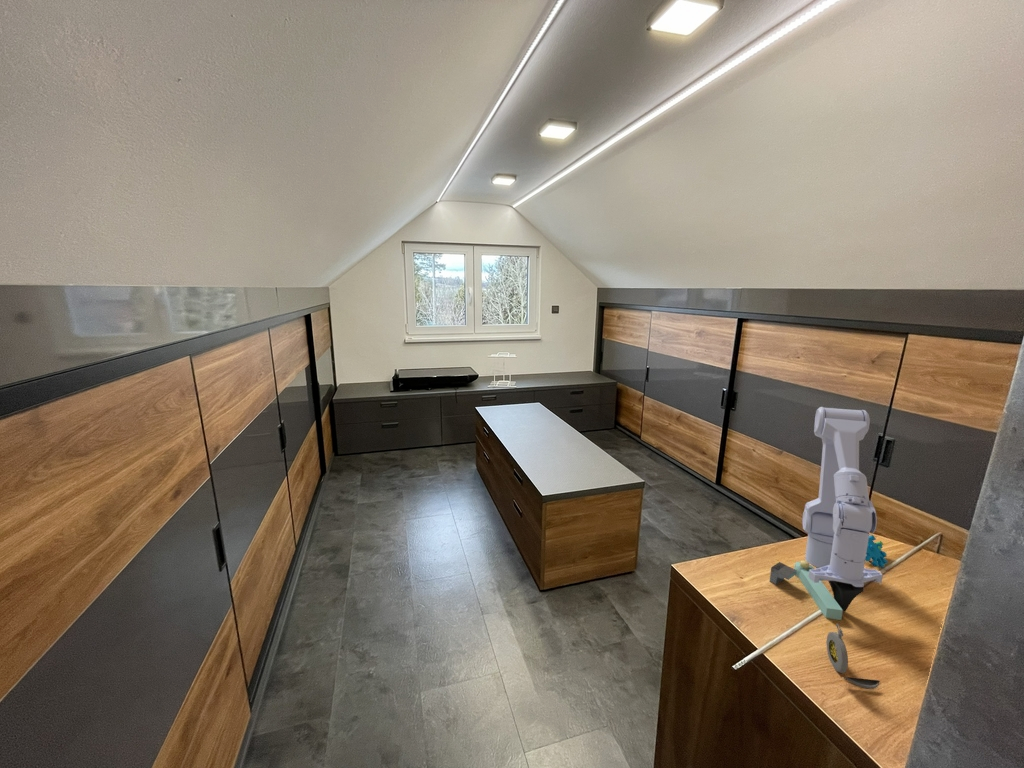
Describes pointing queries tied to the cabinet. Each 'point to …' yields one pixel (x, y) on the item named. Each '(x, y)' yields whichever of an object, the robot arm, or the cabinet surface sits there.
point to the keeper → (781, 573)
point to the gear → (875, 553)
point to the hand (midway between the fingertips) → (840, 608)
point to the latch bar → (818, 592)
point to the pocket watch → (844, 659)
